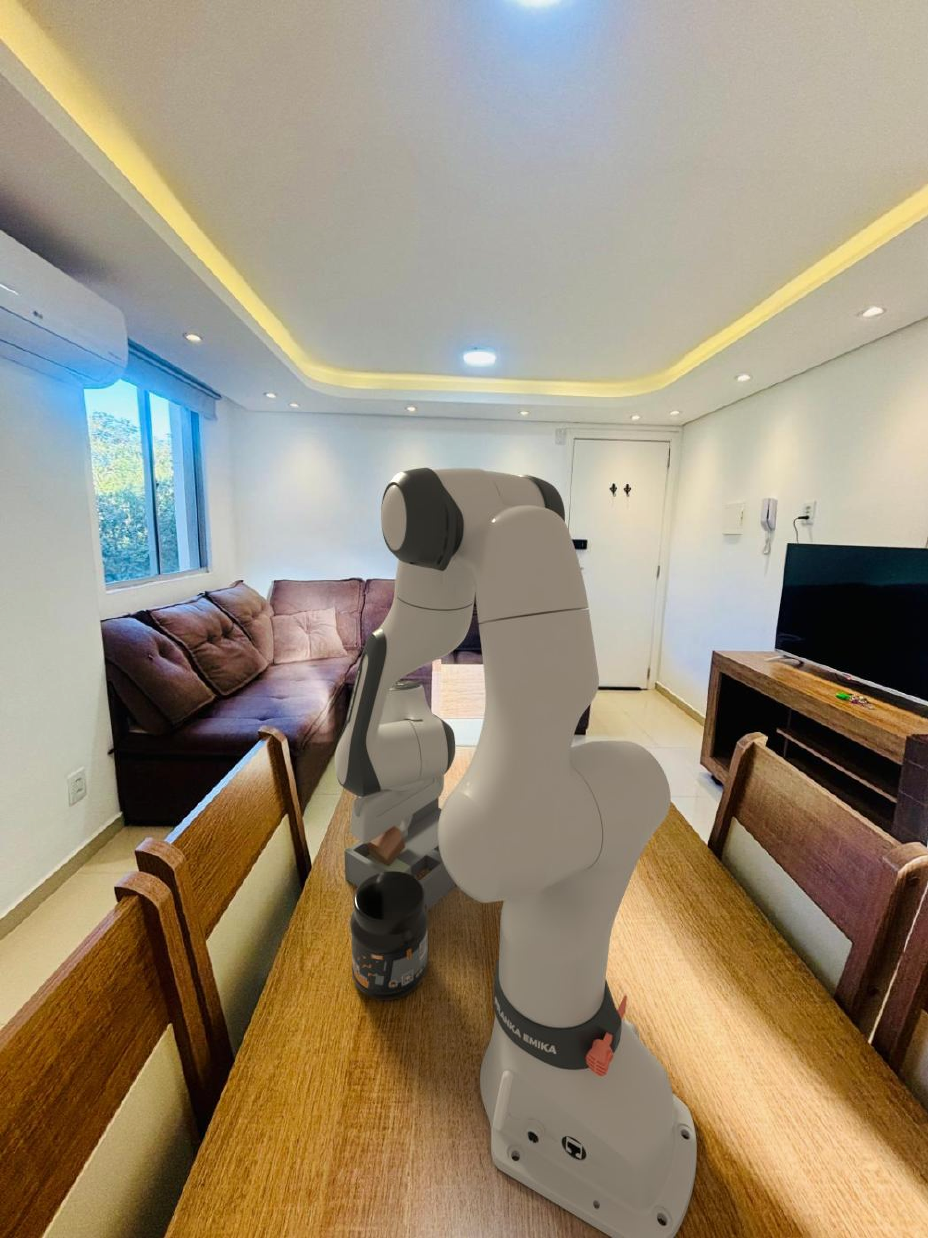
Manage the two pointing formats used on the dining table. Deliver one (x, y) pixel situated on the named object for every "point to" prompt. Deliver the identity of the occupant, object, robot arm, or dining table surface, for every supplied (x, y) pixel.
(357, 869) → the tray
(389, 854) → the block
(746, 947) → the dining table surface
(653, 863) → the dining table surface
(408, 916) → the supplement container
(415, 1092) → the dining table surface
